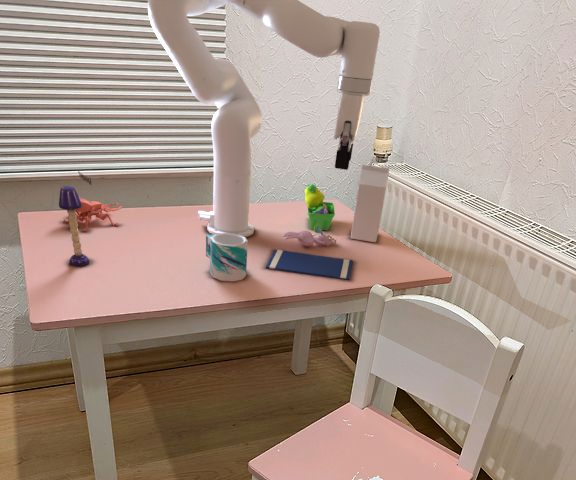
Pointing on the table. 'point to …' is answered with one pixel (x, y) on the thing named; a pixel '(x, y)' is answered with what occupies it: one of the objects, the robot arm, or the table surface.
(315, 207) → the fruit basket
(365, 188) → the milk carton
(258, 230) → the table surface
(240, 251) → the mug
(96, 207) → the beetle
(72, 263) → the toy lamp
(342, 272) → the cloth
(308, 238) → the rabbit figure
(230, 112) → the robot arm
